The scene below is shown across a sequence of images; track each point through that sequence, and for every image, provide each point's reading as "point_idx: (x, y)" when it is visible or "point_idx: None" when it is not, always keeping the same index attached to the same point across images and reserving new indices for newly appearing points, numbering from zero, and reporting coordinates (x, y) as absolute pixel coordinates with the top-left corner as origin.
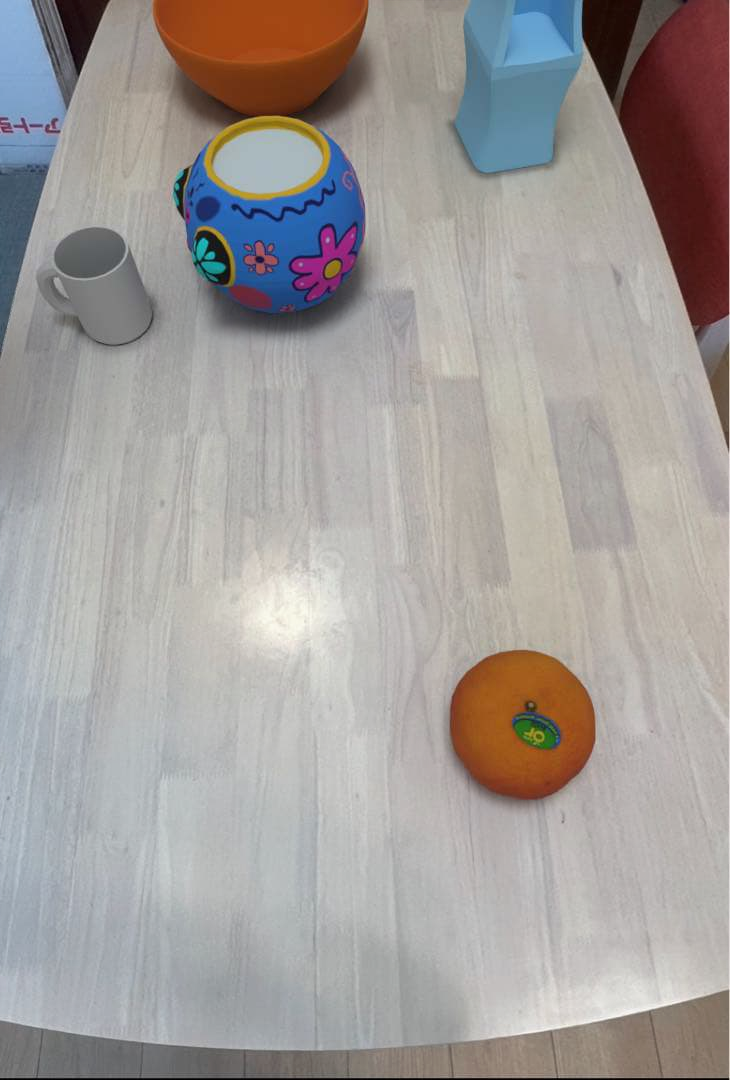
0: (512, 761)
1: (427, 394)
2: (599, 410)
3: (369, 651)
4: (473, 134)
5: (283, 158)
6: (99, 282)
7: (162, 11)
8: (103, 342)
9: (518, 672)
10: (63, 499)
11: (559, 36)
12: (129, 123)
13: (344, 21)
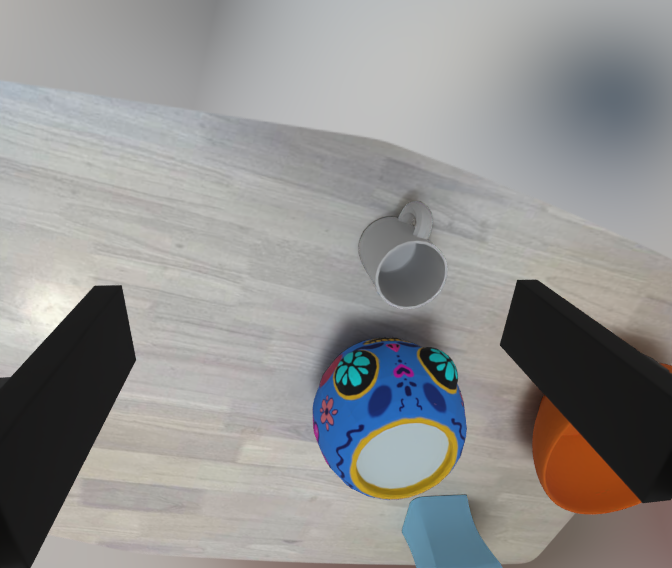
0: None
1: (231, 433)
2: (188, 512)
3: (16, 357)
4: (438, 511)
5: (404, 463)
6: (374, 276)
7: None
8: (365, 230)
9: None
10: (204, 165)
11: None
12: (609, 291)
13: (588, 474)
